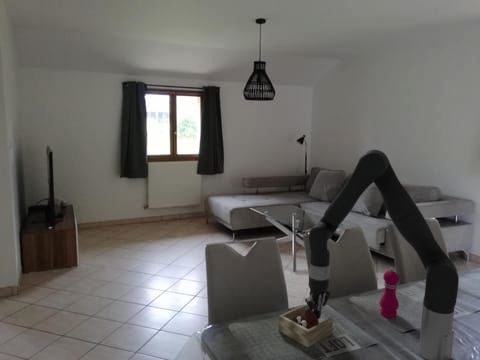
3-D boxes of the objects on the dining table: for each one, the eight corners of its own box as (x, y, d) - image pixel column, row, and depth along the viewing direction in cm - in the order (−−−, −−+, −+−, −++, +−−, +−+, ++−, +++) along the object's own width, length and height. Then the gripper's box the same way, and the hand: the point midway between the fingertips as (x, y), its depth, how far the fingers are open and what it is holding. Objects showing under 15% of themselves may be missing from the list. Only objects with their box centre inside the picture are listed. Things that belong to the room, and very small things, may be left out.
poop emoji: (325, 335, 144) (326, 311, 143) (305, 340, 141) (306, 315, 139) (310, 321, 153) (311, 299, 152) (291, 326, 150) (292, 303, 148)
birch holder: (332, 333, 145) (333, 318, 144) (307, 347, 136) (308, 331, 135) (302, 318, 156) (303, 304, 155) (278, 330, 147) (278, 315, 146)
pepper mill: (399, 319, 156) (403, 272, 152) (380, 317, 157) (383, 270, 154) (396, 311, 163) (399, 265, 159) (377, 309, 164) (381, 263, 161)
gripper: (315, 283, 140) (313, 328, 143) (338, 273, 149) (335, 316, 152) (299, 276, 146) (298, 319, 149) (322, 267, 154) (320, 309, 157)
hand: (317, 318), depth 150 cm, fingers closed
